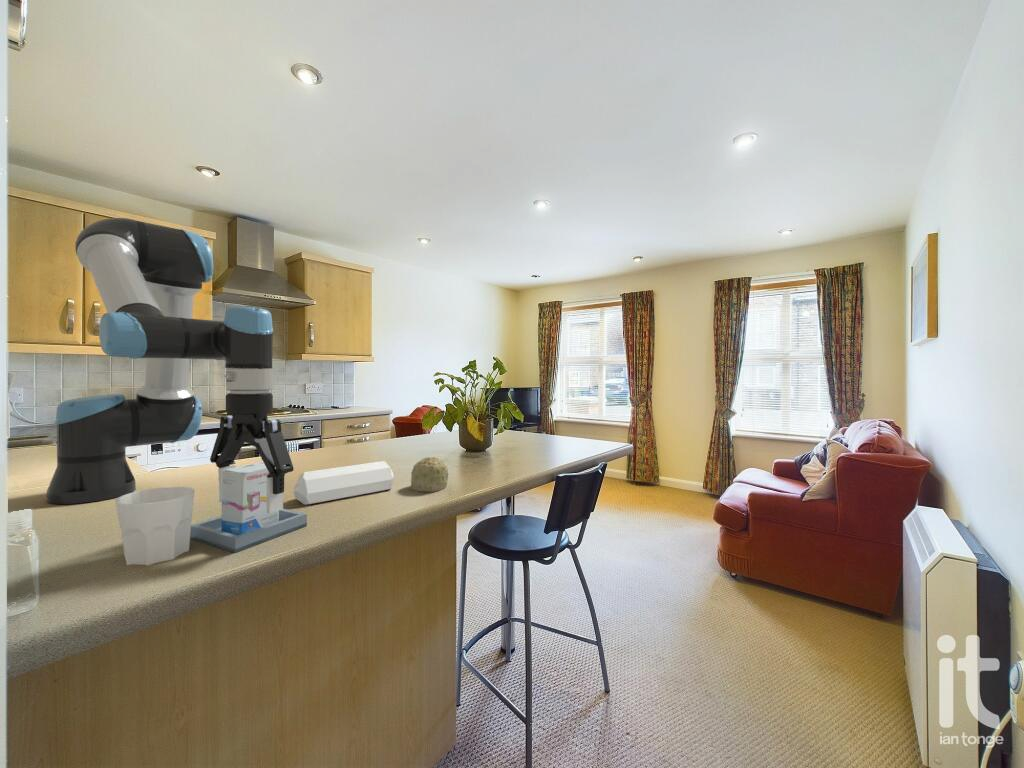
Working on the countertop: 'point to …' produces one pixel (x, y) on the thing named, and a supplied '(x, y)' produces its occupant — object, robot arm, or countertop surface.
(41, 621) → the countertop surface
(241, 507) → the ink box
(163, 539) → the cup
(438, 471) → the decorative object
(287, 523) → the tray
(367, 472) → the crystal
